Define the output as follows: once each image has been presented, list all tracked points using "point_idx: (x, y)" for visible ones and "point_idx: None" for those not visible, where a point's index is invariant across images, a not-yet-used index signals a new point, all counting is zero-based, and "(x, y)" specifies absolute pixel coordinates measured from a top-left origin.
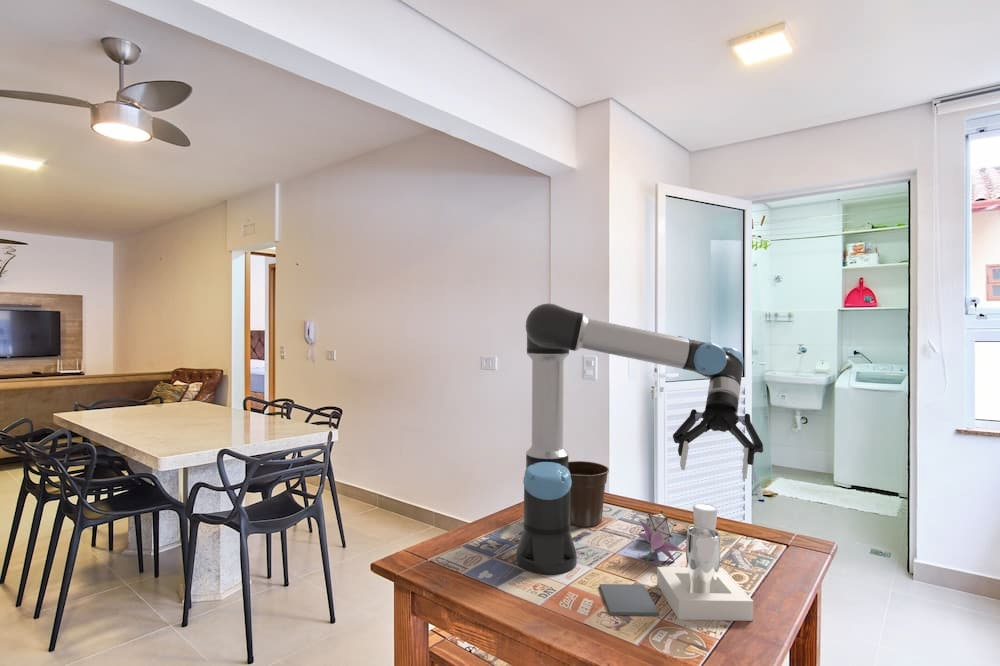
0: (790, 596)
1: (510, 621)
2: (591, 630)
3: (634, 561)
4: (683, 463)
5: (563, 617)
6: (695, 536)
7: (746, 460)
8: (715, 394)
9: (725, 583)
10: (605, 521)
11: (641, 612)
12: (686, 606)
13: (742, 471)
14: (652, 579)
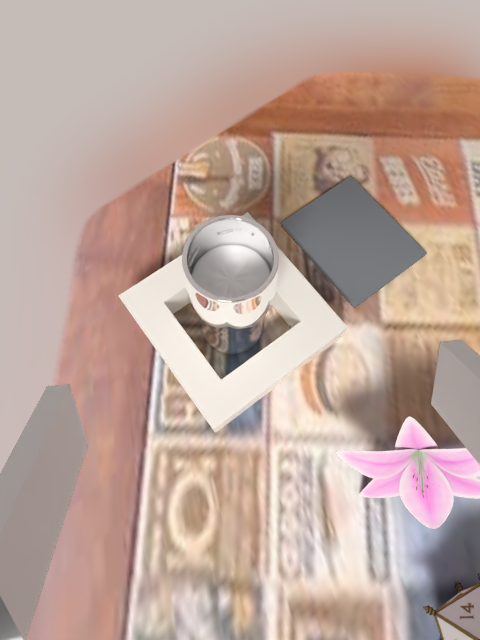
0: None
1: (457, 80)
2: (347, 126)
3: (440, 425)
4: (444, 353)
5: (404, 131)
6: (240, 216)
7: (16, 451)
8: None
9: (187, 341)
10: None
11: (307, 205)
12: None
13: (67, 386)
14: (357, 356)
